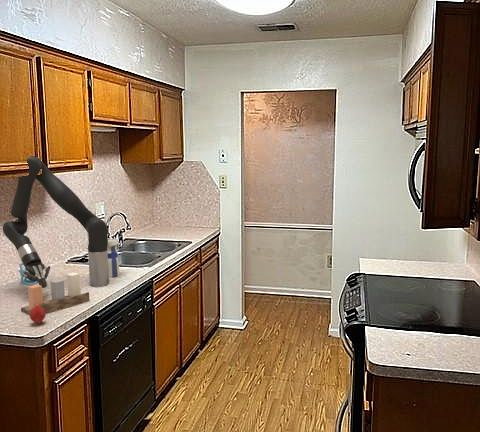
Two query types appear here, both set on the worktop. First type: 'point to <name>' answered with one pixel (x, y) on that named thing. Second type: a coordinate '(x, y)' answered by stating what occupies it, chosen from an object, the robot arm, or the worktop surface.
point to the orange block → (35, 296)
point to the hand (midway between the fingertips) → (44, 287)
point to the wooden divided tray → (60, 303)
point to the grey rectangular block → (57, 290)
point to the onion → (37, 314)
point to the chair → (25, 278)
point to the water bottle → (113, 258)
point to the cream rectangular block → (73, 284)
